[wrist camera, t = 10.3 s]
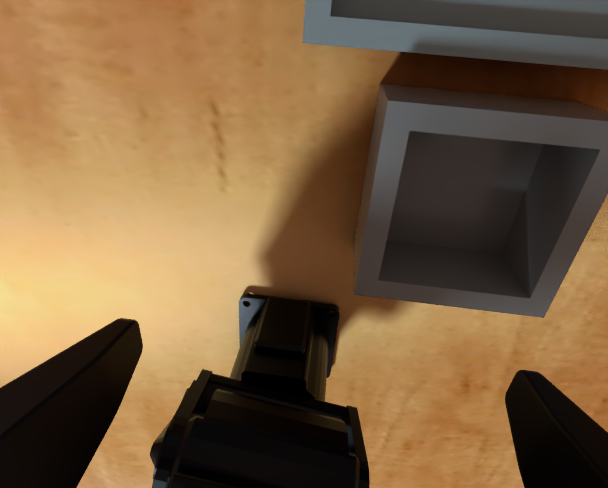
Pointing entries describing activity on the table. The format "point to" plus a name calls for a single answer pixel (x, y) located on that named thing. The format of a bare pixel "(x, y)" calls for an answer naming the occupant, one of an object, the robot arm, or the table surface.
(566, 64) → the tray
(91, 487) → the table surface
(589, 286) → the table surface
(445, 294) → the grey square bin
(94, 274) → the table surface
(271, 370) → the robot arm
